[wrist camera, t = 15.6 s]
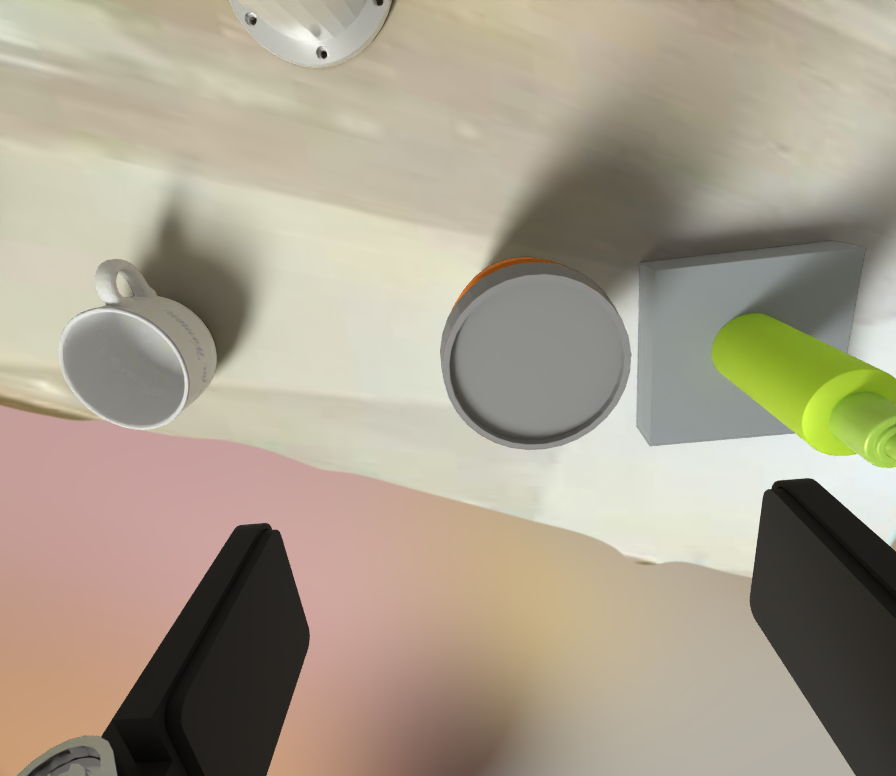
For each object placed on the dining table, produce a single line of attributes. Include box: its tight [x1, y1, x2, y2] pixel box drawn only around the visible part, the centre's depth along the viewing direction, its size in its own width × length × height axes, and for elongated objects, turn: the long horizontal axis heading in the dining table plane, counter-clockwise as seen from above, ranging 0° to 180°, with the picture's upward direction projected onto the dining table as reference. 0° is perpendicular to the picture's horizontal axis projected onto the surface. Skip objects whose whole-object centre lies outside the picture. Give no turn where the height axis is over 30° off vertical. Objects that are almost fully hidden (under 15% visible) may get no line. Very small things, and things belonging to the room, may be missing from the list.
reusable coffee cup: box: [440, 257, 631, 450], centre depth 40 cm, size 13×12×15 cm
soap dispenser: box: [711, 313, 896, 468], centre depth 35 cm, size 6×7×20 cm
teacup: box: [58, 259, 217, 430], centre depth 45 cm, size 14×11×8 cm
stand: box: [637, 241, 866, 446], centre depth 46 cm, size 16×16×4 cm
